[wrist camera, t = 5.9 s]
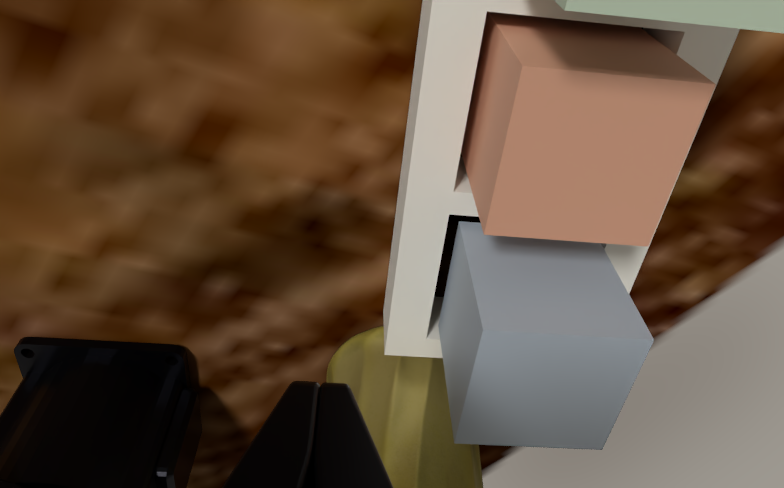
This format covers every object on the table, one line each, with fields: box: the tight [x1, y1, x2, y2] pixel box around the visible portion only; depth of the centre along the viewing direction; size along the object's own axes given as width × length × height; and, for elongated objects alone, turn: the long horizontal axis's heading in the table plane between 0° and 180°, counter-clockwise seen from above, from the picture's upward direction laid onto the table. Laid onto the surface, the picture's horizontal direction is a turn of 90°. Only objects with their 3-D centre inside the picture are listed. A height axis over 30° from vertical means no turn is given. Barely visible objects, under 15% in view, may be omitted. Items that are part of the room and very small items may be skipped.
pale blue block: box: [438, 221, 654, 450], centre depth 18 cm, size 4×4×5 cm
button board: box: [383, 0, 740, 358], centre depth 18 cm, size 8×19×2 cm, turn 174°
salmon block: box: [461, 11, 716, 247], centre depth 17 cm, size 4×4×5 cm
